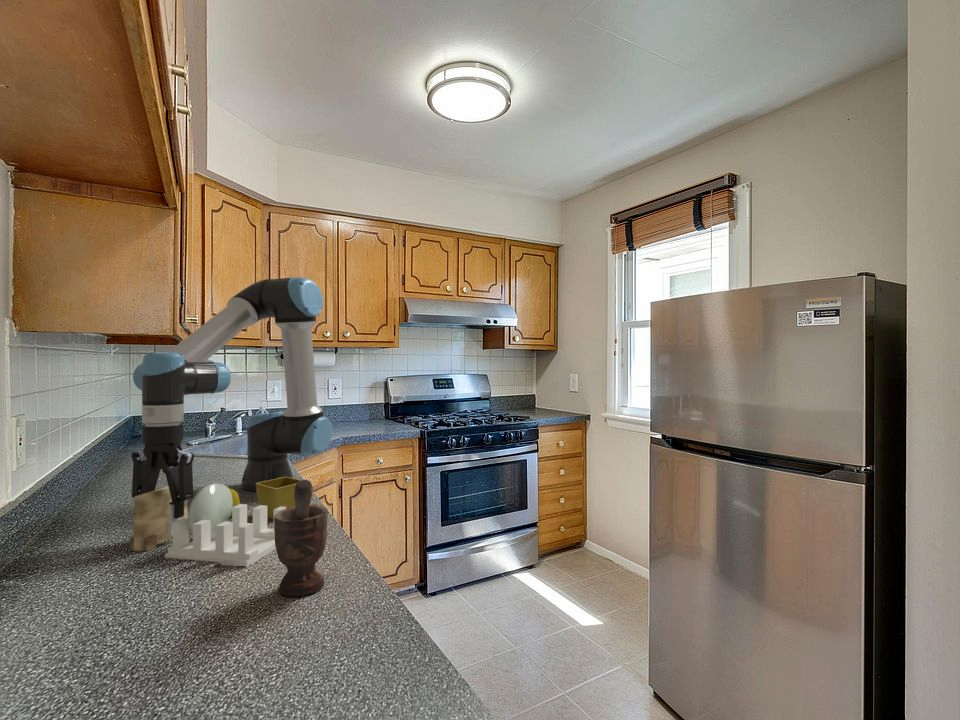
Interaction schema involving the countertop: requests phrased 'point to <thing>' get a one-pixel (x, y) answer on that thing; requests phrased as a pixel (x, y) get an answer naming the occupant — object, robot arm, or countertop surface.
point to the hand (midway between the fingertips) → (162, 531)
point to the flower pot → (276, 493)
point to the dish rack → (226, 538)
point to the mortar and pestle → (301, 542)
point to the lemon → (234, 498)
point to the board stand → (148, 542)
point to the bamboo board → (153, 516)
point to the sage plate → (211, 506)
